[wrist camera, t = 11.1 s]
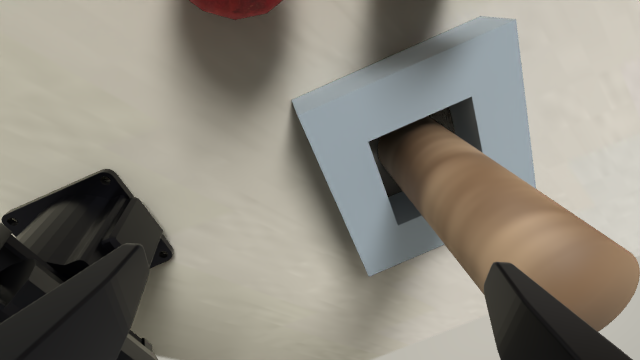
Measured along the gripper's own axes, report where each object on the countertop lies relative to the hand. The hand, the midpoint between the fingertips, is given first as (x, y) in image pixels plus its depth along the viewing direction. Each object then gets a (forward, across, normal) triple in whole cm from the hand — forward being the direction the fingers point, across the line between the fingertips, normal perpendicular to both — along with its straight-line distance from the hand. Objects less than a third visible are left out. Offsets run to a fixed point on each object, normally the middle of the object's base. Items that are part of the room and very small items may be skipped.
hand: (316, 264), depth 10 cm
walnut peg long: (+13, -5, +3) cm, 15 cm away
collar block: (+13, -5, +3) cm, 15 cm away
